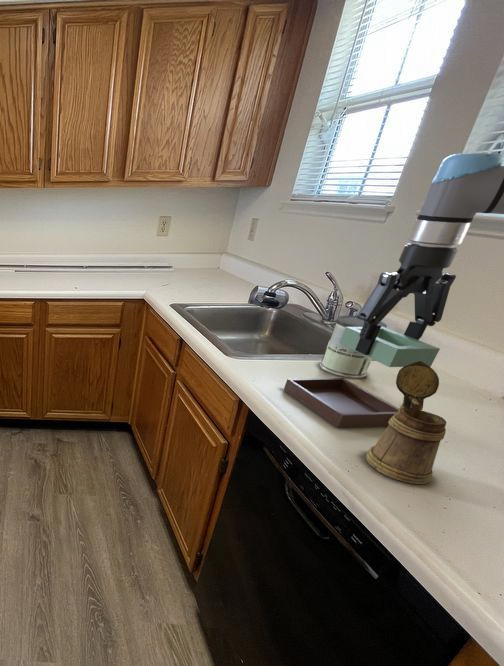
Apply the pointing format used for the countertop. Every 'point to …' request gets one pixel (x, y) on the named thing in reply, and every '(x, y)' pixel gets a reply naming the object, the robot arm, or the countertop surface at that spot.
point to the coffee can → (345, 351)
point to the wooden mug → (410, 430)
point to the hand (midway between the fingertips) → (383, 352)
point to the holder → (341, 402)
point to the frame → (392, 347)
